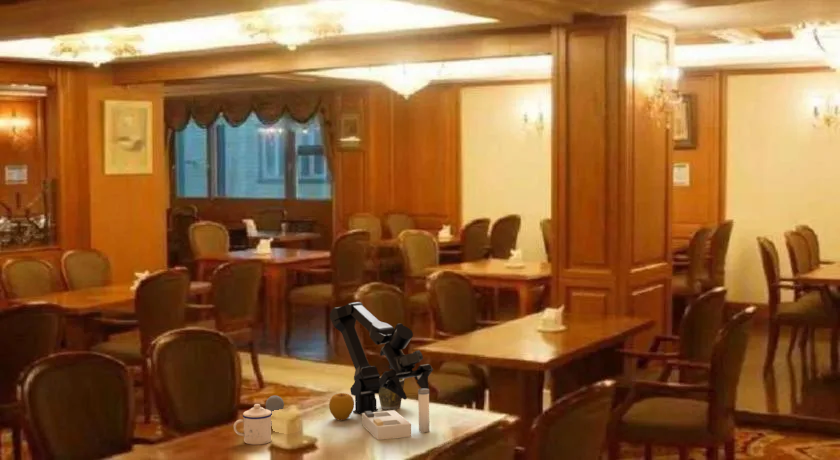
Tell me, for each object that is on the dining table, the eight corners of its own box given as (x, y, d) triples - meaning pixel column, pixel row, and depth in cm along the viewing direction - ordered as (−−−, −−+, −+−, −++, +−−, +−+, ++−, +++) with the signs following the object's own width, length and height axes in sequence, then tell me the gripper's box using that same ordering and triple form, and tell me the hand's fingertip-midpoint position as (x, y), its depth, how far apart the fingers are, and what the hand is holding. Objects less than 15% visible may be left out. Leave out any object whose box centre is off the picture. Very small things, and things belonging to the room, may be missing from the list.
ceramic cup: (373, 405, 390) (372, 377, 389) (400, 403, 393) (399, 375, 392) (383, 414, 378) (382, 385, 377) (410, 411, 381) (410, 382, 380)
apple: (358, 420, 369) (357, 394, 368) (333, 423, 366) (333, 397, 365) (350, 415, 377) (349, 389, 376) (326, 417, 374) (325, 392, 373)
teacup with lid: (269, 436, 352) (268, 400, 351) (275, 443, 343) (274, 406, 342) (232, 439, 348) (230, 403, 347) (236, 447, 340) (235, 410, 339)
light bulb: (281, 428, 361) (280, 398, 360) (263, 427, 363) (262, 397, 362) (286, 423, 367) (286, 393, 366) (269, 422, 368) (268, 393, 368)
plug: (416, 431, 354) (416, 390, 353) (421, 429, 357) (421, 387, 356) (426, 432, 353) (425, 391, 352) (431, 430, 356) (430, 388, 355)
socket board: (362, 425, 364) (362, 410, 363) (394, 422, 367) (394, 407, 366) (377, 439, 345) (377, 424, 345) (411, 436, 349) (411, 420, 348)
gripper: (382, 346, 354) (404, 386, 346) (428, 339, 365) (450, 377, 357) (369, 367, 361) (390, 406, 353) (415, 359, 372) (436, 397, 364)
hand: (417, 396), depth 357 cm, fingers open, 9 cm apart
